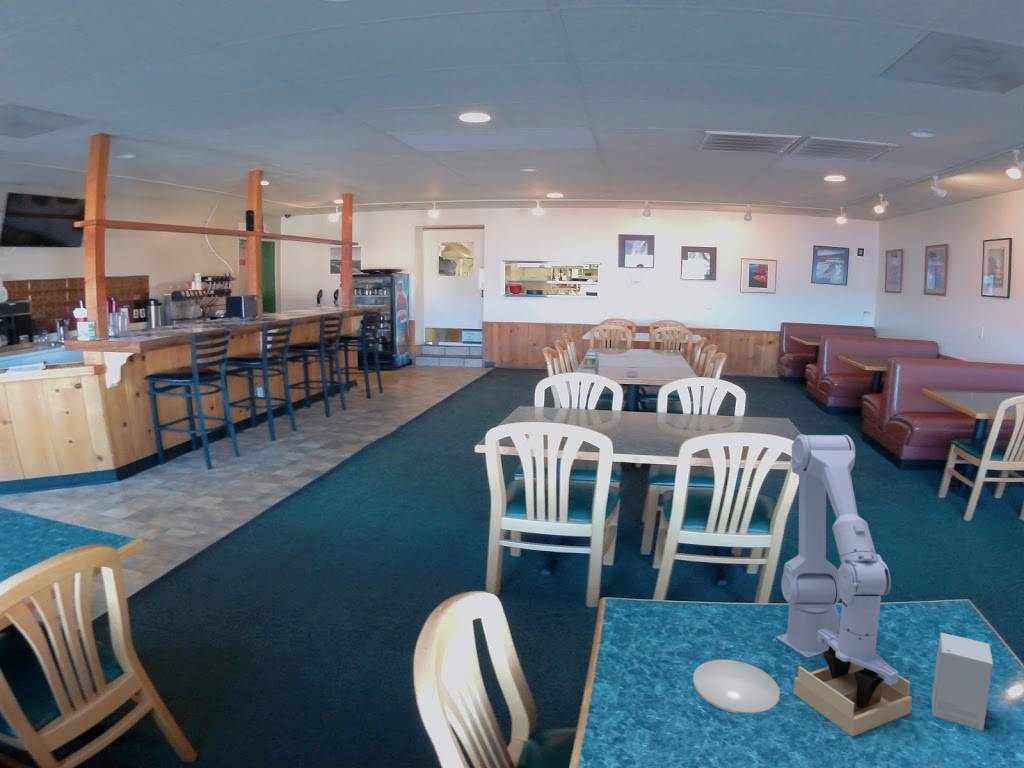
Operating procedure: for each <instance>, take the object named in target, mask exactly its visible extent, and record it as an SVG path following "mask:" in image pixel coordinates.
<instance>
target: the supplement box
mask: <svg viewBox="0 0 1024 768" xmlns="http://www.w3.org/2000/svg"><path fill="white" fill-rule="evenodd" d="M937 645H938V646H937V655H936V660H935V661H936V662H935V671H934V677H933V684H932V690H931V712H932V716H933V717H936V718H938V719H942V720H945V721H949V722H952V723H956V724H959V725H962V726H965V727H969V728H973V729H976V730H980V731H984V729H985V721H986V715H987V711H988V710H987V708H988V701H989V694H990V689H991V680H992V675H993V667H994V660H993V657H992V656H993V655H992V650H991V646H990V643H987V642H982V641H979V640H976V639H971V638H967V637H961V636H958V635H953V634H949V633H945V632H940V634H939V639H938V644H937Z"/></svg>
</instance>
